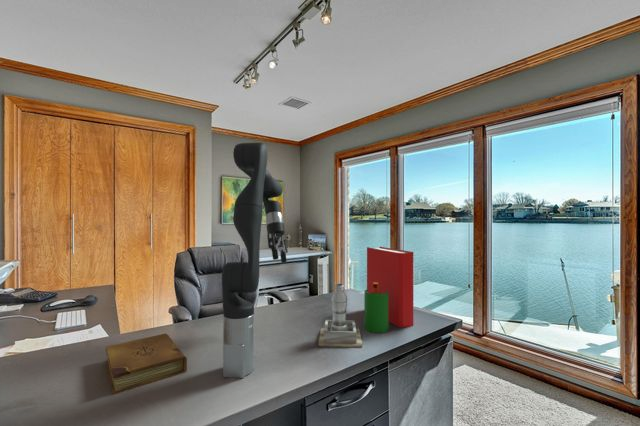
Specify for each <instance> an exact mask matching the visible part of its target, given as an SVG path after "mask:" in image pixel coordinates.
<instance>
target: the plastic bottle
mask: <svg viewBox="0 0 640 426" xmlns="http://www.w3.org/2000/svg"><path fill="white" fill-rule="evenodd" d="M331 305H332V319H331V320H332V327H331V331H348V327H347V321H346V320H347V306H348V296H347V294H346V293H345V284H342V283H336V284H334V292H333V293H332V295H331Z"/></svg>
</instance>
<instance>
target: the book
mask: <svg viewBox="0 0 640 426" xmlns="http://www.w3.org/2000/svg"><path fill="white" fill-rule="evenodd" d="M374 282H377V283H378V293H382V294H384V293H386V292H387V291H388V292H389V323H391V324H393V325H395V326H396V327H398V328H407V327H413V326H414V251H411V250H404V249H397V248H390V247H386V246H379V247H378V248H375V247H374V248H373V247H366V290H368V293H374V289H373V283H374Z"/></svg>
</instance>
